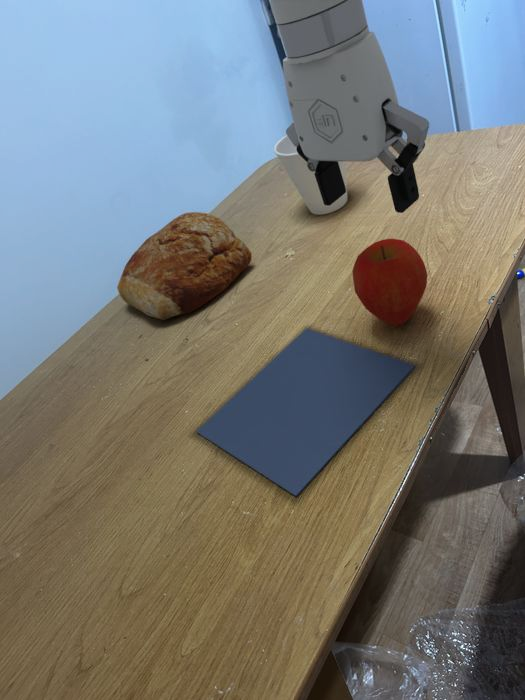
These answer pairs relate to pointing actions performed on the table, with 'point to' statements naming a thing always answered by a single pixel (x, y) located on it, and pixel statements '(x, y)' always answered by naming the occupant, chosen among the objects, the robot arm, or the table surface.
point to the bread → (183, 266)
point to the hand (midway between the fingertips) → (369, 202)
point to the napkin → (304, 407)
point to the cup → (307, 178)
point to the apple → (390, 280)
